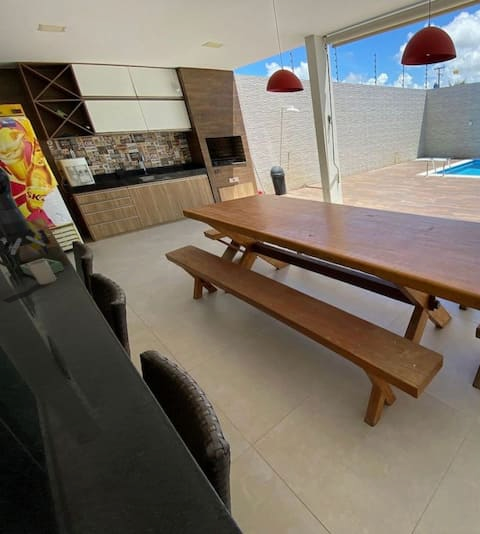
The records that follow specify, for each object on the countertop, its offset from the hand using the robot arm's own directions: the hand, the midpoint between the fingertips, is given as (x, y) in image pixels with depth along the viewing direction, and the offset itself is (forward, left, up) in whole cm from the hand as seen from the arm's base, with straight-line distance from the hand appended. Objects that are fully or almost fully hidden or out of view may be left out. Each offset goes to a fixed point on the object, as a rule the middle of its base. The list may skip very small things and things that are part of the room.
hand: (33, 258), depth 125 cm
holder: (+5, +15, -11) cm, 19 cm away
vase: (+9, +35, -11) cm, 38 cm away
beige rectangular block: (+1, 0, -11) cm, 11 cm away
